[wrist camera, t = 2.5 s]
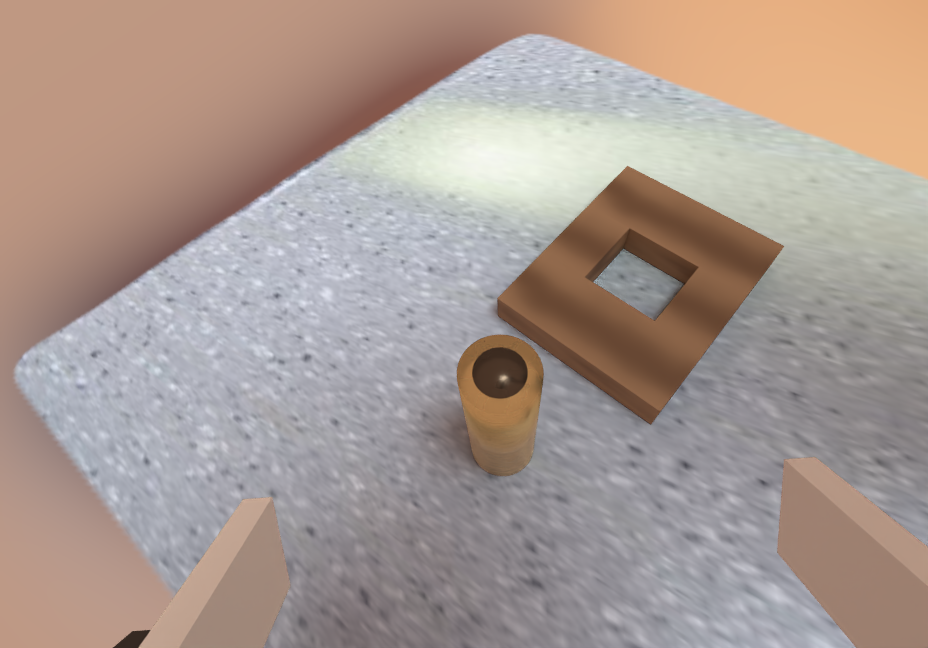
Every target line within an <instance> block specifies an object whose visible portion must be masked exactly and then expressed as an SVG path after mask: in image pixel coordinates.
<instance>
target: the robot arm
mask: <svg viewBox="0 0 928 648" xmlns="http://www.w3.org/2000/svg"><path fill="white" fill-rule="evenodd" d="M777 553H778V554H779V555H780V556H781V557H782V559H783V560H784V561H785V562H786V563H787V565H788V566H789V567H790V568H791V570H792V571H793V572H794V573H795V574H796V576H797V577H798V578H799V579H800V580H801V582H802V583H803V584H804V585H805V586H806V588H807V589H808V590H809V591H810V592H811V594H812V595H813V596H814V597H815V598H816V600H817V601H818V602H819V603H820V604H821V606H822V607H823V608H824V609H825V610H826V612H827V613H828V614H829V615H830V616H831V618H832V619H833V620H834V621H835V623H836V624H837V625H838V626H839V627H840V629H841V630H842V631H843V632H844V633H845V635H846V636H847V637H848V638H849V639H850V641H851V642H852V643H853V644H854V645H855V647H856V648H928V547H927V546H926V545H925V544H923V543H922V542H921V541H920V540H918V539H917V538H916V537H915V536H913V535H912V534H911V533H910V532H908V531H907V530H906V529H905V528H903V527H902V526H901V525H900V524H898V523H897V522H896V521H894V520H893V519H892V518H891V517H889V516H888V515H887V514H886V513H884V512H883V511H882V510H881V509H879V508H878V507H877V506H876V505H874V504H873V503H872V502H871V501H869V500H868V499H867V498H866V497H864V496H863V495H862V494H861V493H859V492H858V491H857V490H856V489H854V488H853V487H852V486H851V485H849V484H848V483H847V482H846V481H844V480H843V479H842V478H841V477H839V476H838V475H837V474H836V473H834V472H833V471H832V470H831V469H829V468H828V467H827V466H826V465H824V464H823V463H822V462H821V461H819V460H818V459H817V458H816V457H810V458H796V459H784V469H783V482H782V496H781V509H780V522H779V535H778V548H777ZM289 588H290V581H289V576H288V571H287V566H286V561H285V557H284V552H283V547H282V542H281V537H280V532H279V528H278V523H277V518H276V513H275V508H274V503H273V498H272V497H268V498H255V499H243V500H242V502H241V503H240V505H239V506H238V508H237V509H236V510H235V512H234V513H233V515H232V516H231V517H230V519H229V520H228V522H227V523H226V525H225V526H224V527H223V529H222V530H221V532H220V533H219V534H218V536H217V537H216V539H215V540H214V541H213V543H212V544H211V546H210V547H209V549H208V550H207V551H206V553H205V554H204V556H203V557H202V558H201V560H200V561H199V563H198V564H197V566H196V567H195V568H194V570H193V571H192V573H191V574H190V575H189V577H188V578H187V580H186V581H185V583H184V584H183V585H182V587H181V588H180V590H179V591H178V592H177V594H176V595H175V597H174V598H173V600H172V601H171V602H170V604H169V605H168V607H167V608H166V609H165V611H164V612H163V614H162V615H161V617H160V618H159V619H158V621H157V622H156V624H155V625H154V627H153V628H152V629H151V630H144V631H132V632H131V633H130V634H129V635H128V636H126V637H125V638H124V639H123V640H122V641H120V642H119V643H118V644H117V645H116V646H115V647H113V648H263V647H264V645H265V643H266V640H267V638H268V636H269V633H270V631H271V629H272V627H273V624H274V622H275V620H276V618H277V615H278V613H279V611H280V608H281V606H282V604H283V602H284V599H285V597H286V595H287V592H288V590H289Z"/></svg>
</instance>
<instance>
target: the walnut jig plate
mask: <svg viewBox="0 0 928 648" xmlns="http://www.w3.org/2000/svg"><path fill="white" fill-rule="evenodd" d="M783 247H784V246H783V245H781V244H779V243H777V242H775V241H773V240H771V239H769V238H767V237H765V236H763V235H761V234H759V233H757V232H755V231H754V230H752V229H750V228H748V227H746V226H744V225H742V224H740V223H738V222H736V221H734V220H732V219H730V218H728V217H726V216H724V215H722V214H720V213H718V212H716V211H714V210H713V209H711V208H709V207H707V206H705V205H703V204H701V203H699V202H697V201H695V200H693V199H691V198H689V197H687V196H685V195H683V194H681V193H679V192H677V191H675V190H673V189H671V188H670V187H668V186H666V185H664V184H662V183H660V182H658V181H656V180H654V179H652V178H650V177H648V176H646V175H644V174H642V173H640V172H638V171H636V170H634V169H632V168H630V167H629V166H627V167H626V168H625V169H624V170H623V171H622V172H621V173H620V174H619V175H618V176H617V177H616V178H615V179H614V180H613V181H612V182H611V183H610V184H609V185H608V186H607V187H606V188H605V189H604V190H603V191H602V192H601V193H600V194H599V195H598V196H597V197H596V198H595V200H594V201H593V202H592V203H591V204H590V205H589V206H588V207H587V208H586V209H585V210H584V211H583V212H582V213H581V214H580V215H579V216H578V217H577V218H576V219H575V220H574V221H573V222H572V223H571V224H570V225H569V226H568V227H567V228H566V229H565V230H564V231H563V232H562V233H561V234H560V235H559V236H558V237H557V238H556V239H555V240H554V241H553V242H552V243H551V244H550V245H549V246H548V247H547V248H546V249H545V250H544V251H543V252H542V254H541V255H540V256H539V257H538V258H537V259H536V260H535V261H534V262H533V263H532V264H531V265H530V266H529V267H528V268H527V269H526V270H525V271H524V272H523V273H522V274H521V275H520V276H519V277H518V278H517V279H516V280H515V281H514V282H513V283H512V284H511V285H510V286H509V287H508V288H507V289H506V290H505V291H504V292H503V293H502V294H501V295H500V296H499V297H498V298H497V299H498V316H499V317H500V318H502V319H503V320H505V321H506V322H507V323H509V324H510V325H512V326H513V327H514V328H516V329H517V330H519V331H520V332H521V333H523V334H524V335H526V336H527V337H528V338H530V339H531V340H533V341H534V342H535V343H537V344H538V345H540V346H541V347H543V348H544V349H545V350H547V351H548V352H550V353H551V354H552V355H554V356H555V357H557V358H558V359H559V360H561V361H562V362H564V363H565V364H566V365H568V366H569V367H571V368H572V369H573V370H575V371H576V372H578V373H579V374H580V375H582V376H583V377H585V378H586V379H587V380H589V381H590V382H592V383H593V384H595V385H596V386H597V387H599V388H600V389H602V390H603V391H604V392H606V393H607V394H609V395H610V396H611V397H613V398H614V399H616V400H617V401H618V402H620V403H621V404H623V405H624V406H625V407H627V408H628V409H630V410H631V411H632V412H634V413H635V414H637V415H638V416H639V417H641V418H642V419H644V420H645V421H647V422H648V423H649V424H652V422H653V421H654V420H655V418H656V417H657V416H658V414H659V413H660V412H661V410H662V409H663V408H664V406H665V405H666V404H667V402H668V401H669V400H670V398H671V397H672V396H673V394H674V393H675V392H676V390H677V389H678V388H679V386H680V385H681V384H682V382H683V381H684V380H685V378H686V377H687V376H688V374H689V373H690V372H691V370H692V369H693V368H694V366H695V365H696V364H697V362H698V361H699V360H700V358H701V357H702V356H703V354H704V353H705V352H706V350H707V349H708V348H709V346H710V345H711V344H712V342H713V341H714V340H715V338H716V337H717V336H718V334H719V333H720V332H721V330H722V329H723V328H724V326H725V325H726V324H727V322H728V321H729V320H730V318H731V317H732V316H733V314H734V313H735V312H736V310H737V309H738V308H739V306H740V305H741V304H742V302H743V301H744V300H745V298H746V297H747V296H748V294H749V293H750V292H751V290H752V289H753V288H754V286H755V285H756V284H757V282H758V281H759V280H760V278H761V277H762V276H763V274H764V273H765V272H766V270H767V269H768V268H769V266H770V265H771V264H772V262H773V261H774V259H775V258H776V257H777V255H778V254H779V253H780V251H781V250H782V248H783ZM623 248H624V249H626V250H627V251H629V252H631V253H633V254H634V255H636V256H638V257H639V258H641V259H643V260H645V261H646V262H648V263H650V264H651V265H653V266H655V267H657V268H658V269H660V270H662V271H663V272H665V273H667V274H669V275H670V276H672V277H674V278H675V279H677V280H679V281H681V282H682V283H684V284H685V285H684V286H683V287H682V288H681V290H680V291H679V292H678V293H677V295H676V296H675V297H674V298H673V299H672V301H671V302H670V303H669V304H668V306H667V307H666V308H665V309H664V310H663V312H662V313H661V314H660V315H659V317H658V318H657V319H656V320H655V321H654V320H652V319H651V318H649V317H648V316H646V315H644V314H643V313H641V312H640V311H638V310H636V309H635V308H633V307H632V306H630V305H628V304H627V303H625V302H624V301H622V300H620V299H619V298H617V297H616V296H614V295H612V294H611V293H609V292H608V291H606V290H604V289H603V288H601V287H600V286H598V285H596V284H595V283H593V281H594V280H595V279H596V278H597V277H598V276H599V275H600V274H601V273H602V271H603V270H604V269H605V268H606V267H607V266H608V265H609V264H610V263H611V262H612V260H613V259H614V258H615V257H616V256H617V255H618V254H619V253H620V252H621V251H622V249H623Z"/></svg>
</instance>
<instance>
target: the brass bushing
mask: <svg viewBox="0 0 928 648" xmlns="http://www.w3.org/2000/svg"><path fill="white" fill-rule="evenodd" d="M543 375H544V373H543V366H542V362H541V360H540V358H539V356H538V354H537V353H536V351H535V350H534V349H533V348H532V347H531V346H530V345H529V344H527V343H526V342H524V341H523V340H521V339H519V338H516V337H513V336H509V335H492V336H487V337H484V338H482V339H480V340H478V341H476V342H474V343H473V344H472V345H470V346H469V347H468V348H467V349H466V351H465V352H464V353H463V355H462V356H461V358H460V361H459V363H458V367H457V382H458V386H459V391H460V396H461V401H462V406H463V410H464V415H465V420H466V425H467V429H468V434H469V439H470V444H471V449H472V453H473V456H474V458H475V460H476V462H477V463H478V465H479V466H480V467H481V468H482V469H484V470H485V471H487V472H488V473H490V474H493V475H497V476H509V475H513V474H515V473H518V472H519V471H521V470H522V469H523V468H525V466H526V465H527V464H528V463H529V461H530V459H531V457H532V454H533V449H534V442H535V435H536V428H537V421H538V413H539V406H540V399H541V392H542V385H543Z"/></svg>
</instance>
